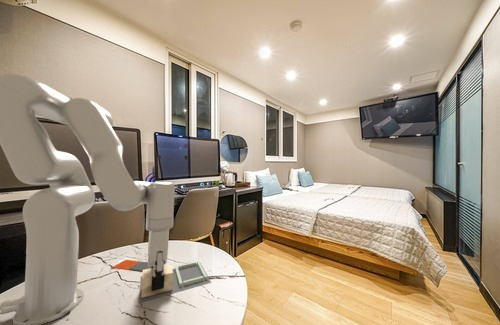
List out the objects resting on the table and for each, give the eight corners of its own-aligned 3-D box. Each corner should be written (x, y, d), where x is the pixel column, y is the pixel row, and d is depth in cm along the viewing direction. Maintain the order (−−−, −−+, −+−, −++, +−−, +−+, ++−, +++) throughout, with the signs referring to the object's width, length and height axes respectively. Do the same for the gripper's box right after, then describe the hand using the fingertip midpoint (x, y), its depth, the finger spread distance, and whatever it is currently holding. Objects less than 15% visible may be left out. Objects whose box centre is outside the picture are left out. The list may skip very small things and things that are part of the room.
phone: (125, 258, 74) (158, 263, 71) (125, 262, 74) (158, 266, 71) (110, 267, 68) (146, 272, 65) (110, 271, 68) (146, 276, 65)
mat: (138, 304, 51) (138, 299, 51) (140, 278, 63) (140, 273, 63) (211, 283, 60) (211, 279, 60) (200, 264, 72) (200, 260, 72)
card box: (141, 297, 52) (142, 279, 52) (141, 286, 57) (142, 269, 57) (172, 289, 56) (173, 272, 56) (170, 280, 61) (171, 264, 61)
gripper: (146, 217, 63) (143, 272, 62) (145, 233, 48) (141, 306, 47) (170, 215, 66) (168, 267, 66) (176, 229, 51) (173, 297, 51)
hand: (157, 282), depth 56 cm, fingers closed on card box, 5 cm apart
